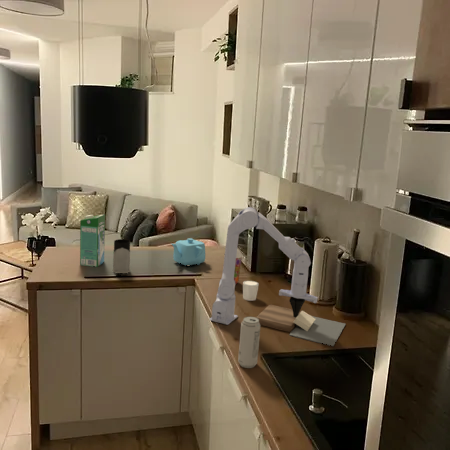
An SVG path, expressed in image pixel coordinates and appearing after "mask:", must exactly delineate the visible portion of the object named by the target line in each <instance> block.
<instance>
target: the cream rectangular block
mask: <svg viewBox="0 0 450 450" xmlns="http://www.w3.org/2000/svg"><path fill="white" fill-rule="evenodd" d="M300 311H301V313H300V314H299V315H298V316H297V317H296V318H295V320H294V323H295V324H297V325H298V326H300V327H301V328H303V329H304V330H306V331H308V330H309V328H310V327H311V326H312V324H313V323H314V321H315V318H313V317H312V316H313V315H311V314H308V313H307V312H305V310H300ZM297 325H296V326H297Z"/></svg>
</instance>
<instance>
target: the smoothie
mask: <svg viewBox="0 0 450 450" xmlns="http://www.w3.org/2000/svg"><path fill="white" fill-rule="evenodd" d="M223 254H224V257H225V253H223ZM224 257H223V258H224ZM242 260H243V254H242V252H241V250H240V249H239V248H237V255H236V263H235V271H234V280H235V285H237V284H238V282H239V280H240V273H241V265H242Z"/></svg>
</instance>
